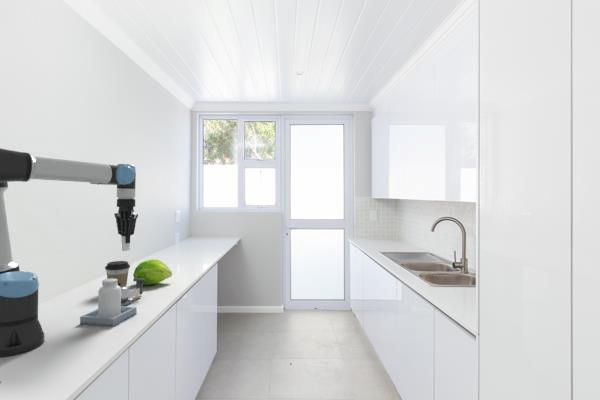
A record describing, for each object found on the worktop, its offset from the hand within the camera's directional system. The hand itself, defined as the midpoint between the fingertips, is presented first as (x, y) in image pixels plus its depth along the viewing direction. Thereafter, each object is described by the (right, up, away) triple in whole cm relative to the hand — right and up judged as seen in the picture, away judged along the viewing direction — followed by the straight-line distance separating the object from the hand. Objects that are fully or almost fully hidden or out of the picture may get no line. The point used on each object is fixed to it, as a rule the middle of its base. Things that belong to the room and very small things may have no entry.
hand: (125, 250), depth 155 cm
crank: (0, -23, +4) cm, 23 cm away
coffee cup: (-14, -24, +19) cm, 33 cm away
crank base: (-1, -24, +4) cm, 25 cm away
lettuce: (-3, -24, +35) cm, 43 cm away
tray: (+3, -25, -18) cm, 31 cm away
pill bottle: (+3, -24, -18) cm, 31 cm away
